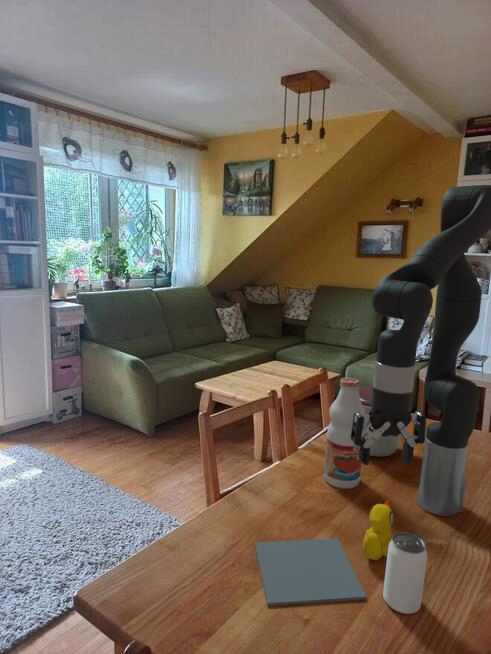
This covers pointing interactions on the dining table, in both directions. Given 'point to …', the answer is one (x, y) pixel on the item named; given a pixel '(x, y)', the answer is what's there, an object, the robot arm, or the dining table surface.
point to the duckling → (378, 531)
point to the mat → (306, 572)
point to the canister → (383, 443)
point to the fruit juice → (343, 438)
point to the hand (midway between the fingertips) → (385, 462)
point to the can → (405, 573)
